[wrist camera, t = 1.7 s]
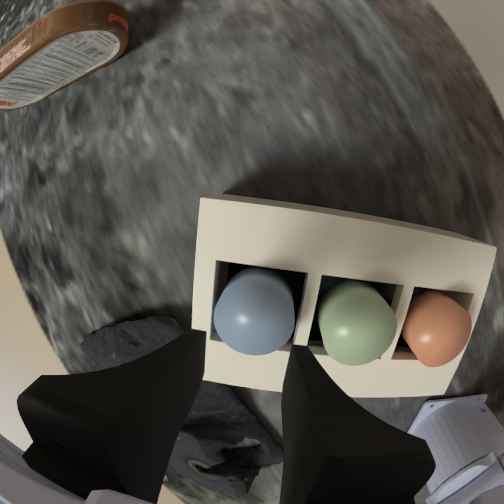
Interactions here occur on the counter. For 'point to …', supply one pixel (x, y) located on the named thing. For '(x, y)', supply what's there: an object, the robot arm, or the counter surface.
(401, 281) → the button console
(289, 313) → the slate blue button
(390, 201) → the counter surface
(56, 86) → the tin
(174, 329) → the black fabric pouch
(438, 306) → the terracotta button
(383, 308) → the sage green button
